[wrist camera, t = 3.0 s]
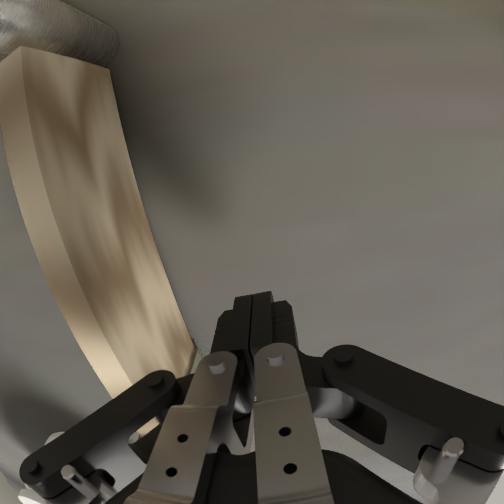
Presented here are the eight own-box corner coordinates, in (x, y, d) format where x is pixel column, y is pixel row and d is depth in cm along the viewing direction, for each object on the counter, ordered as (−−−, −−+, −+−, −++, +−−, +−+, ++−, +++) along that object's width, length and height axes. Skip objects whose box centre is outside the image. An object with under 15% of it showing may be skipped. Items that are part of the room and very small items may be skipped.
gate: (83, 81, 14) (-17, 69, 6) (112, 67, 13) (15, 41, 6) (179, 368, 21) (149, 459, 13) (205, 365, 20) (182, 461, 13)
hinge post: (74, 39, 13) (-78, 3, 2) (115, 18, 13) (-31, -54, 1) (80, 78, 14) (-89, 66, 3) (122, 58, 14) (-46, 7, 2)
